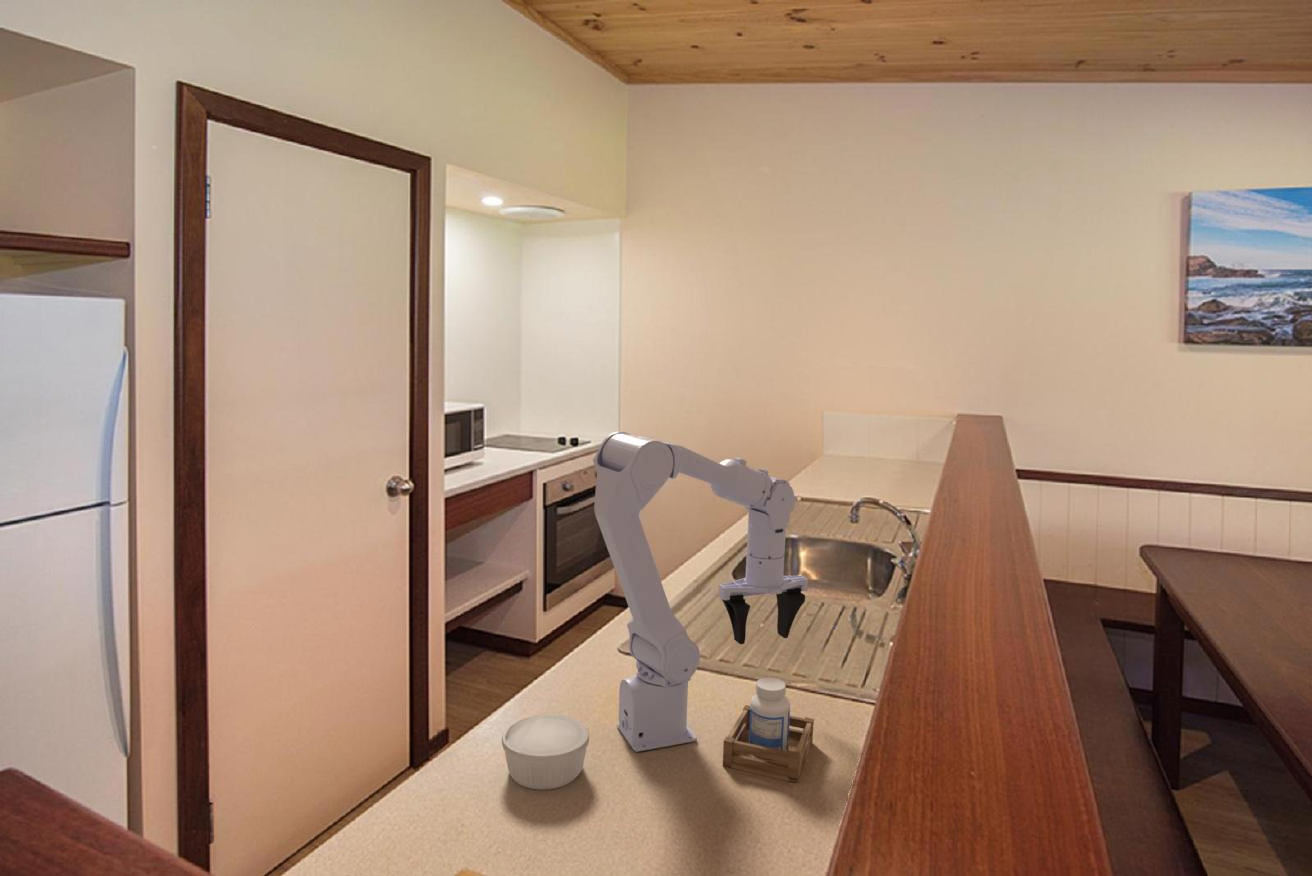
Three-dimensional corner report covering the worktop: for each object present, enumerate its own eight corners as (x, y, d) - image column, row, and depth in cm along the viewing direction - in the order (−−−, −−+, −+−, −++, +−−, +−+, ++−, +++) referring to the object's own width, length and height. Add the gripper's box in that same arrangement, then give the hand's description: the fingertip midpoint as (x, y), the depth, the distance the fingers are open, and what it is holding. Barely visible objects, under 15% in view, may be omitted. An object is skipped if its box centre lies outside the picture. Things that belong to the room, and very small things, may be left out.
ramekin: (493, 758, 109) (493, 721, 108) (572, 742, 113) (573, 707, 113) (514, 804, 99) (514, 764, 98) (600, 785, 103) (601, 746, 103)
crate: (796, 783, 105) (798, 757, 104) (722, 765, 108) (723, 740, 108) (812, 742, 115) (813, 718, 114) (744, 728, 119) (745, 704, 118)
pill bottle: (763, 735, 115) (766, 670, 114) (795, 750, 112) (799, 683, 110) (740, 749, 111) (743, 683, 110) (772, 765, 108) (776, 696, 106)
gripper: (735, 565, 117) (731, 654, 119) (820, 557, 122) (815, 642, 124) (713, 552, 123) (710, 636, 125) (796, 544, 129) (791, 626, 131)
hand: (761, 638), depth 125 cm, fingers open, 7 cm apart
